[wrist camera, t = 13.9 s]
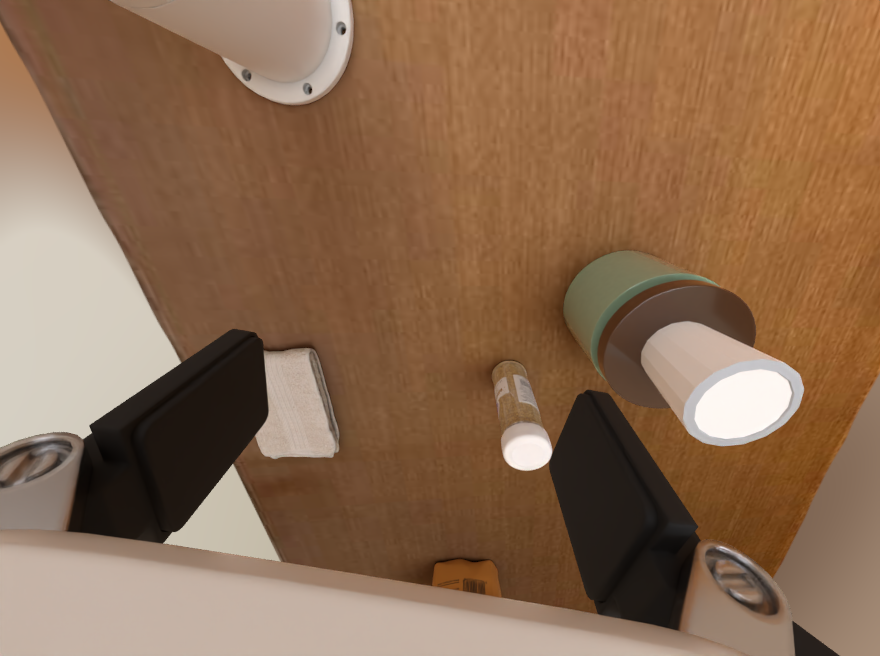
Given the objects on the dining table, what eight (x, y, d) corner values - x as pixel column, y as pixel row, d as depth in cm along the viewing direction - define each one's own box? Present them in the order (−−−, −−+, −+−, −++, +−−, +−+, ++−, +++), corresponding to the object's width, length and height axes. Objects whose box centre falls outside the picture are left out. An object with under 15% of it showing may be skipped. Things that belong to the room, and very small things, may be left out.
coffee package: (500, 588, 63) (518, 778, 43) (436, 587, 64) (425, 772, 44) (499, 556, 59) (518, 751, 39) (431, 556, 60) (416, 745, 40)
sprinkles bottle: (485, 367, 42) (495, 445, 30) (519, 354, 41) (543, 430, 29) (499, 393, 44) (513, 478, 31) (532, 381, 42) (560, 464, 30)
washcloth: (272, 448, 51) (261, 464, 48) (230, 347, 43) (214, 359, 40) (346, 446, 49) (339, 463, 47) (316, 342, 42) (306, 354, 39)
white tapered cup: (643, 313, 26) (703, 359, 19) (736, 314, 25) (828, 360, 19) (624, 385, 29) (670, 446, 22) (706, 387, 28) (778, 449, 22)
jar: (554, 269, 36) (591, 308, 26) (671, 235, 34) (764, 262, 23) (572, 359, 41) (609, 422, 30) (675, 334, 38) (755, 393, 28)
